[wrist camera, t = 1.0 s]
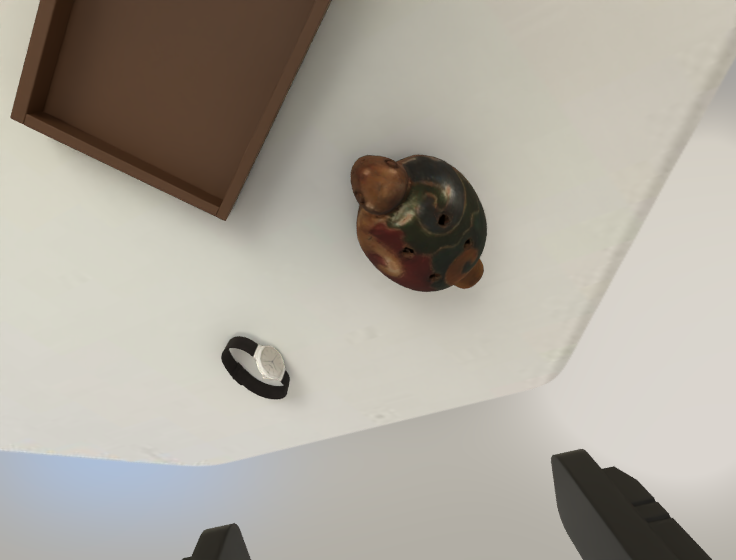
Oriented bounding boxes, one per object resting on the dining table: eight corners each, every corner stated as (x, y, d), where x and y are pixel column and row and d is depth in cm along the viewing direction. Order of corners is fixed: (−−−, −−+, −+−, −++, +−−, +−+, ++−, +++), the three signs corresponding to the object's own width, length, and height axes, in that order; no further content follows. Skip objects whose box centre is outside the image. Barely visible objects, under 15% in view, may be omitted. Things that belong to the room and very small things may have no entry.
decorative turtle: (377, 103, 32) (409, 111, 25) (497, 217, 38) (548, 249, 31) (301, 201, 34) (310, 235, 27) (427, 293, 41) (460, 340, 34)
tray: (32, 114, 29) (9, 118, 27) (128, -234, 23) (107, -269, 20) (231, 211, 34) (225, 221, 32) (357, -53, 27) (361, -65, 25)
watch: (302, 371, 42) (301, 396, 39) (266, 395, 43) (263, 421, 40) (249, 321, 39) (244, 343, 36) (211, 348, 40) (203, 372, 36)
